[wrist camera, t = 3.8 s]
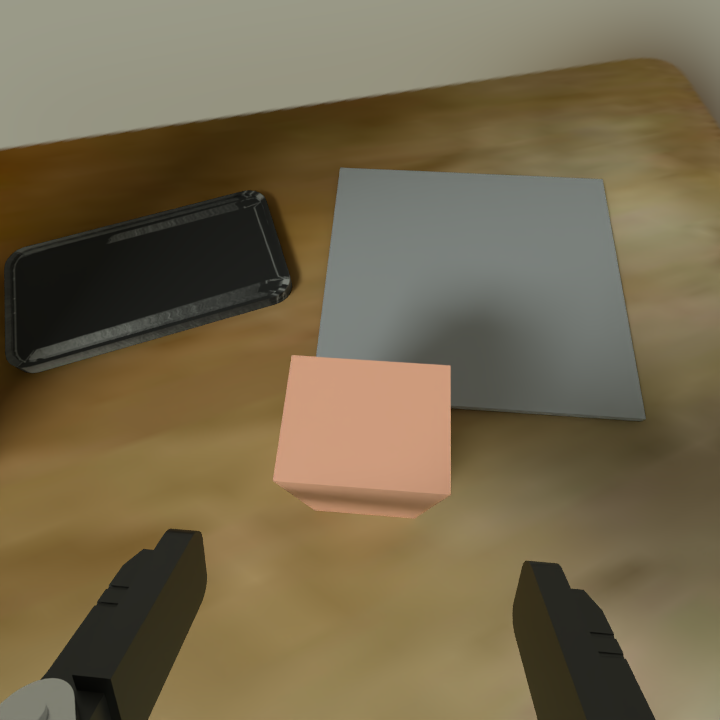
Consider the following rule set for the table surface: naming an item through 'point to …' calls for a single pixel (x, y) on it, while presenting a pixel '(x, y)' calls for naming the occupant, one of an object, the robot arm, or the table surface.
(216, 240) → the phone
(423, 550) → the table surface
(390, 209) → the mat
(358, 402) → the block
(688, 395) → the table surface
